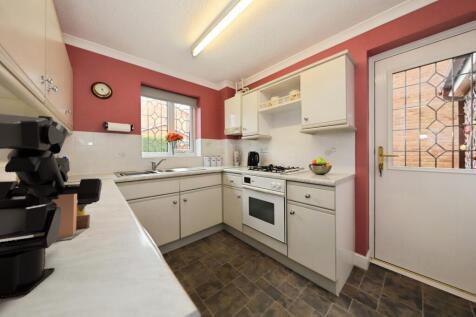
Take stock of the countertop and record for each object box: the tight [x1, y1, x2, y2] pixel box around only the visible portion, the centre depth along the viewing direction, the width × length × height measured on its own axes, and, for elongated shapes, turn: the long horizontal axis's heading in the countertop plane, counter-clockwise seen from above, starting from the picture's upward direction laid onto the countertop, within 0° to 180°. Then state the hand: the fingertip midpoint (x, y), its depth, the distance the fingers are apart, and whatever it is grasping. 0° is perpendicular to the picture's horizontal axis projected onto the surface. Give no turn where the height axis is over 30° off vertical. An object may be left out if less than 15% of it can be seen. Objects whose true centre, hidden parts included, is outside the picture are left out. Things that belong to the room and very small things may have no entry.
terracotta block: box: [52, 194, 77, 238], centre depth 50 cm, size 4×4×13 cm
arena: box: [33, 214, 91, 242], centre depth 50 cm, size 9×9×4 cm
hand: (57, 212), depth 45 cm, fingers open, 9 cm apart
